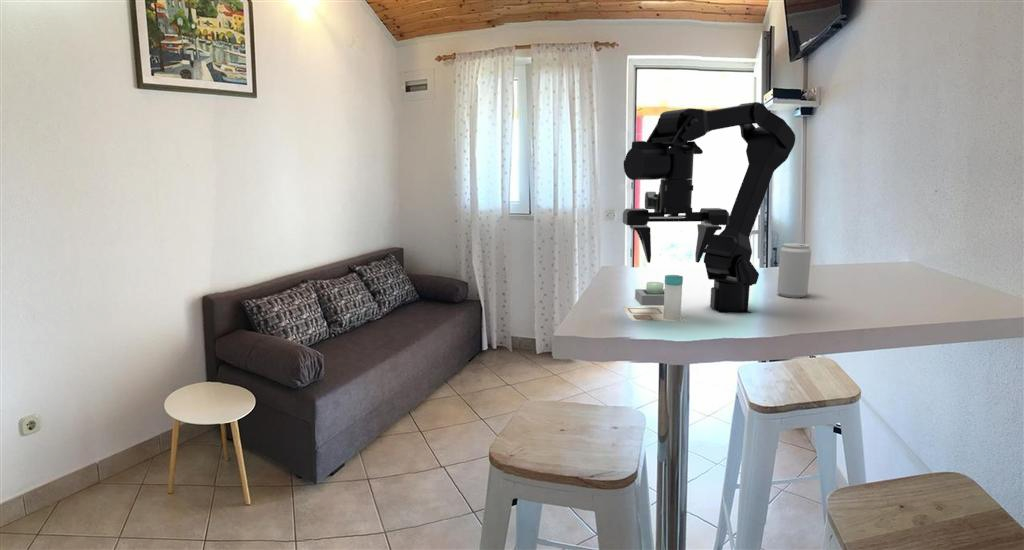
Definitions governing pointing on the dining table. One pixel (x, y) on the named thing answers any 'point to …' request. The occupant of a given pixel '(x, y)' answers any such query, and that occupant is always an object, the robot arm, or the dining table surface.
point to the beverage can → (794, 270)
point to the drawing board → (646, 313)
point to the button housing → (649, 297)
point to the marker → (673, 297)
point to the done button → (654, 288)
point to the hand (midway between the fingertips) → (672, 262)
